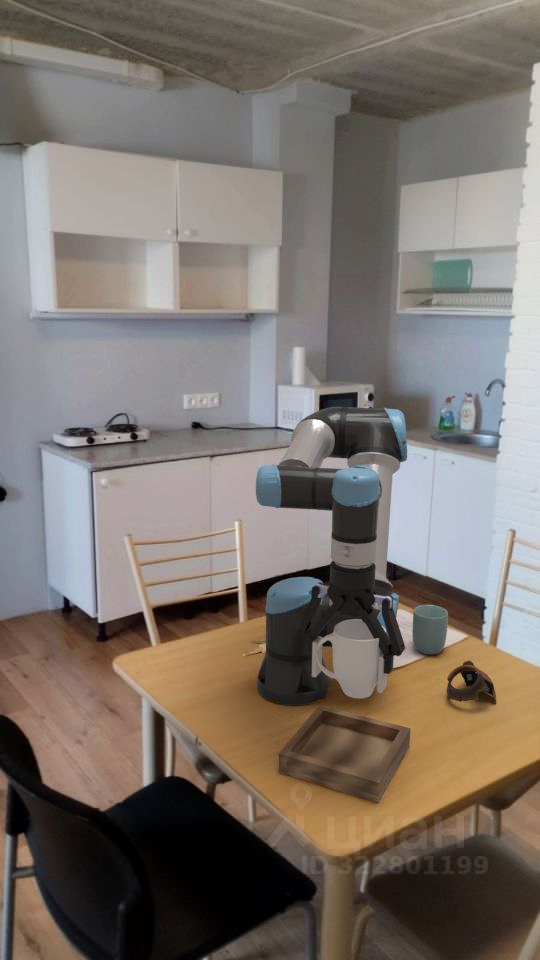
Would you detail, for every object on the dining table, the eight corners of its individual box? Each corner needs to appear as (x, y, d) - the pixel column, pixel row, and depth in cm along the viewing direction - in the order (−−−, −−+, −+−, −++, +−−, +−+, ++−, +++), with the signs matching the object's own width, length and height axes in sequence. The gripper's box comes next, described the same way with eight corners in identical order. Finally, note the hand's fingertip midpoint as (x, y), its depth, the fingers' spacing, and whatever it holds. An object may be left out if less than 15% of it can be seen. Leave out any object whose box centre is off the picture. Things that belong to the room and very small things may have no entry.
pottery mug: (504, 713, 151) (490, 685, 148) (459, 728, 154) (444, 700, 150) (491, 672, 162) (478, 644, 159) (449, 686, 164) (435, 659, 161)
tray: (278, 772, 131) (278, 753, 130) (318, 722, 147) (319, 704, 146) (378, 802, 123) (379, 782, 122) (409, 746, 139) (410, 728, 138)
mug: (382, 680, 136) (384, 618, 133) (384, 707, 128) (387, 641, 124) (316, 677, 137) (317, 616, 134) (314, 703, 129) (316, 638, 125)
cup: (420, 640, 182) (422, 601, 180) (450, 649, 178) (453, 609, 176) (405, 652, 176) (407, 612, 174) (437, 661, 172) (439, 620, 169)
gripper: (279, 557, 128) (277, 675, 133) (416, 580, 118) (409, 707, 123) (297, 545, 135) (295, 658, 140) (429, 566, 125) (421, 687, 130)
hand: (348, 681), depth 131 cm, fingers closed on mug, 11 cm apart
